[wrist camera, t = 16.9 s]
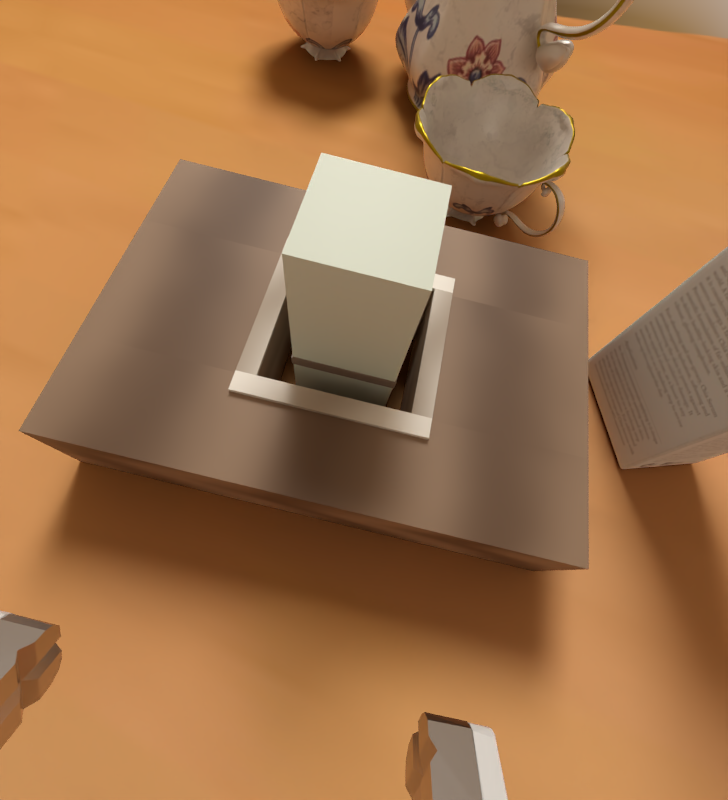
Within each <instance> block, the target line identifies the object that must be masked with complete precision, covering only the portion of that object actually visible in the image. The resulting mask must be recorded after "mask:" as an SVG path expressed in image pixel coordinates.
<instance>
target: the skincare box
mask: <svg viewBox="0 0 728 800" xmlns="http://www.w3.org/2000/svg"><path fill="white" fill-rule="evenodd" d="M588 376H589V379H590V382H591V385H592V388H593V390H594V393H595V396H596V399H597V402H598V405H599V408H600V411H601V414H602V416H603V419H604V422H605V425H606V428H607V431H608V434H609V436H610V439H611V442H612V445H613V448H614V451H615V454H616V457H617V460H618V463H619V466H620V468H621V469H631V468H643V467H657V466H666V465H677V464H692V463H697V462H700V461H703V460H706V459H709V458H712V457H715V456H719V455H722V454H725V453H728V247H727V248H725V249H724V250H723V251H722V252H720V253H719V254H718V255H717V256H715V257H714V258H713V259H712V260H710V261H709V262H708V263H707V264H705V265H704V266H703V267H702V268H701V269H699V270H698V271H697V272H696V273H694V274H693V275H692V276H691V277H689V278H688V279H687V280H686V281H684V282H683V283H682V284H681V285H680V286H678V287H677V288H676V289H675V290H674V291H672V292H671V293H670V294H669V295H667V296H666V297H665V298H664V299H663V300H661V301H660V302H659V303H658V304H656V305H655V306H654V307H653V308H651V309H650V310H649V311H648V312H646V313H645V314H644V315H643V316H641V317H640V318H639V319H638V320H637V321H635V322H634V323H633V324H632V325H630V326H629V327H628V328H627V329H625V330H624V331H623V332H622V333H620V334H619V335H618V336H617V337H616V338H614V339H613V340H612V341H611V342H609V343H608V344H607V345H606V346H604V347H603V348H602V349H601V350H600V351H598V352H597V353H596V354H595V355H593V356H592V357H591V358H590V359H589V360H588Z"/></svg>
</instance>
